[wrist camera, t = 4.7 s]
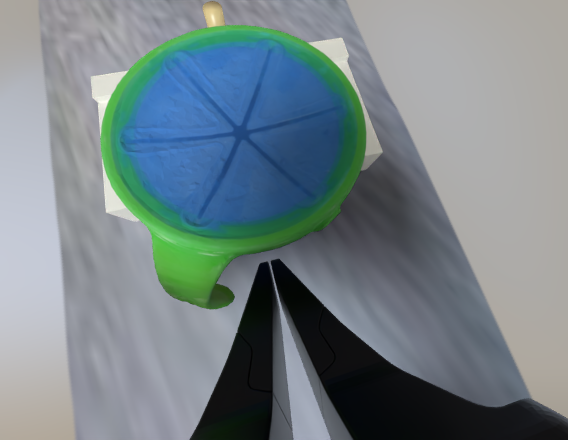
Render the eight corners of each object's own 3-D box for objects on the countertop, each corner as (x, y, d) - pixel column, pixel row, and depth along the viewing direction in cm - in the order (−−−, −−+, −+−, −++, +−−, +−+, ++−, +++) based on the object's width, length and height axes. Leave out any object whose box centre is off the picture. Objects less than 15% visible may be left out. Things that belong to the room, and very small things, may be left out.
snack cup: (243, 112, 20) (211, -43, 10) (343, 152, 19) (414, 30, 9) (158, 260, 16) (-24, 248, 6) (277, 314, 16) (281, 394, 6)
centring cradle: (366, 169, 19) (421, 112, 12) (135, 221, 17) (34, 190, 10) (330, 72, 21) (358, -24, 14) (123, 108, 19) (34, 16, 12)
